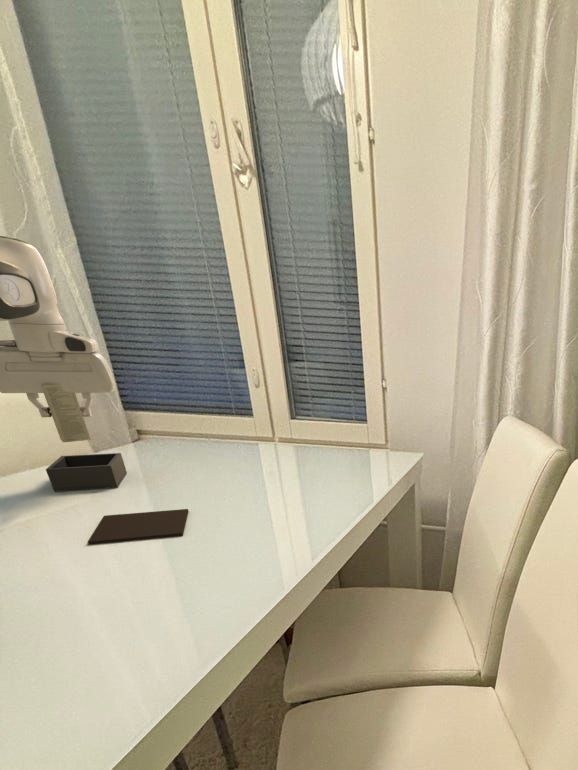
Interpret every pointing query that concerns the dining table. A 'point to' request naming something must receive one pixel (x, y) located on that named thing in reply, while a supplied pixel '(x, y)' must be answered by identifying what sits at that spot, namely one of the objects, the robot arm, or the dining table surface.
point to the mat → (139, 526)
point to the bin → (87, 472)
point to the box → (66, 413)
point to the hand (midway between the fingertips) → (67, 416)
